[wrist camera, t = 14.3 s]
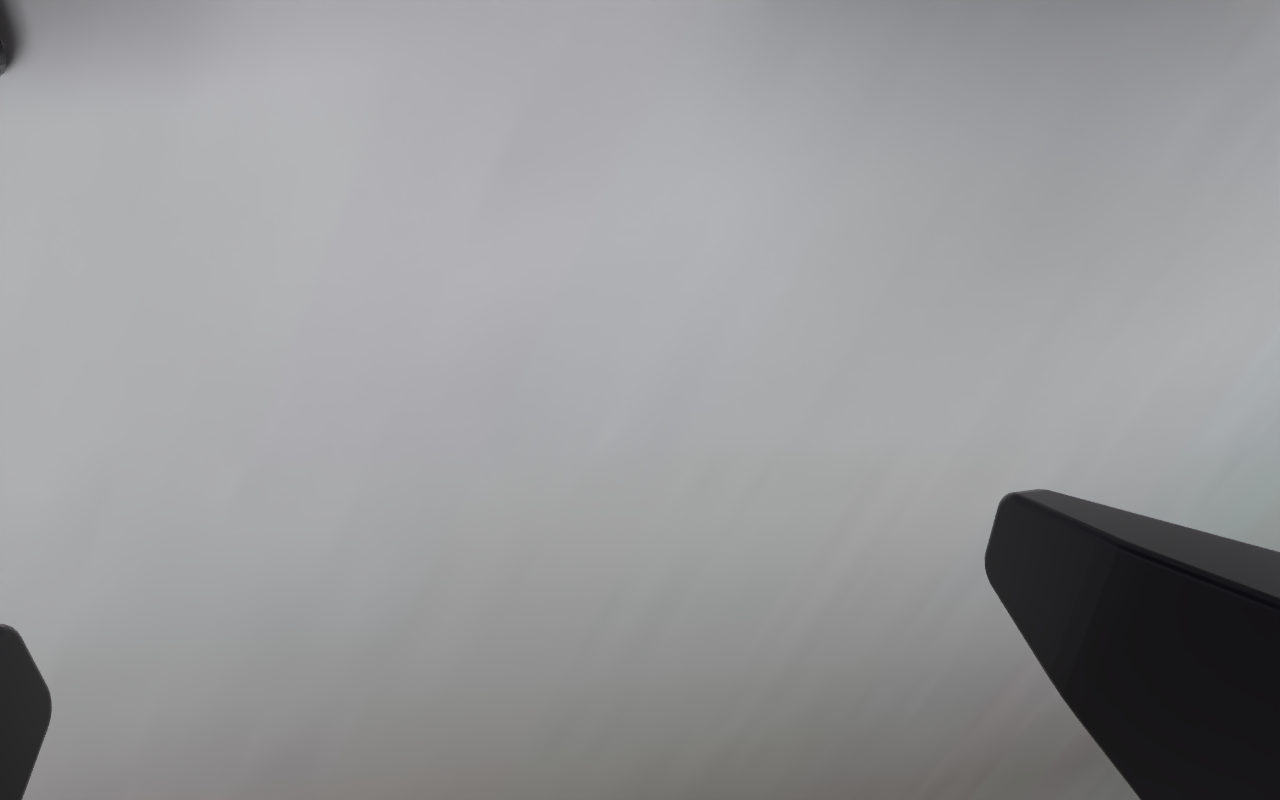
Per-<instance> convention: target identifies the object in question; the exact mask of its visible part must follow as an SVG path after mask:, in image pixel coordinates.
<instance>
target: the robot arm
mask: <svg viewBox="0 0 1280 800" xmlns="http://www.w3.org/2000/svg"><path fill="white" fill-rule="evenodd" d="M6 64H7V63H6V57H5V52H4V49H3V46H2V43H1V41H0V76H1V75H2V74H3V73H4V70H5V67H6ZM985 569H986V574H987V577H988V579H989V582H990V584H991V586H992V587H993V589H994V591H995V592H996V594H997V595H998V597H999V599H1000V600H1001V602H1002V603H1003V605H1004V607H1005V608H1006V610H1007V611H1008V613H1009V615H1010V616H1011V618H1012V619H1013V621H1014V623H1015V624H1016V626H1017V627H1018V629H1019V631H1020V632H1021V634H1022V635H1023V637H1024V639H1025V640H1026V642H1027V643H1028V645H1029V647H1030V648H1031V650H1032V651H1033V653H1034V655H1035V656H1036V658H1037V659H1038V661H1039V663H1040V664H1041V666H1042V667H1043V669H1044V671H1045V672H1046V674H1047V675H1048V677H1049V678H1050V680H1051V681H1052V683H1053V684H1054V686H1055V688H1056V689H1057V691H1058V692H1059V694H1060V695H1061V697H1062V698H1063V699H1064V701H1065V702H1066V703H1067V705H1068V706H1069V708H1070V709H1071V710H1072V712H1073V713H1074V714H1075V716H1076V717H1077V718H1078V720H1079V721H1080V722H1081V724H1082V725H1083V726H1084V727H1085V729H1086V730H1087V731H1088V733H1089V734H1090V735H1091V736H1092V738H1093V739H1094V740H1095V742H1096V743H1097V744H1098V745H1099V747H1100V748H1101V749H1102V751H1103V752H1104V753H1105V754H1106V756H1107V757H1108V758H1109V760H1110V761H1111V762H1112V764H1113V765H1114V766H1115V767H1116V769H1117V770H1118V771H1119V773H1120V774H1121V775H1122V776H1123V778H1124V779H1125V780H1126V782H1127V783H1128V784H1129V785H1130V787H1131V788H1132V789H1133V791H1134V792H1135V793H1136V794H1137V796H1138V797H1139V798H1140V800H1280V552H1277V551H1274V550H1270V549H1266V548H1262V547H1259V546H1255V545H1251V544H1247V543H1244V542H1240V541H1236V540H1233V539H1229V538H1225V537H1221V536H1218V535H1214V534H1210V533H1206V532H1203V531H1199V530H1195V529H1192V528H1188V527H1184V526H1180V525H1177V524H1173V523H1169V522H1165V521H1162V520H1158V519H1154V518H1150V517H1147V516H1143V515H1139V514H1136V513H1132V512H1128V511H1124V510H1121V509H1117V508H1113V507H1109V506H1106V505H1102V504H1098V503H1095V502H1091V501H1087V500H1083V499H1080V498H1076V497H1072V496H1068V495H1065V494H1061V493H1057V492H1054V491H1050V490H1043V489H1036V490H1028V491H1020V492H1012V493H1009V494H1007V495H1006V496H1004V497H1003V498H1002V500H1001V501H1000V503H999V505H998V509H997V512H996V516H995V520H994V523H993V527H992V531H991V534H990V538H989V542H988V545H987V549H986V553H985ZM51 711H52V707H51V696H50V692H49V689H48V687H47V685H46V683H45V681H44V679H43V677H42V675H41V673H40V671H39V670H38V668H37V666H36V664H35V662H34V660H33V658H32V656H31V654H30V653H29V651H28V649H27V647H26V645H25V643H24V641H23V639H22V637H21V636H20V634H19V633H18V631H16V630H15V629H14V628H13V627H11V626H8V625H5V624H0V800H22V798H23V795H24V793H25V790H26V787H27V784H28V782H29V779H30V776H31V773H32V771H33V768H34V765H35V762H36V760H37V757H38V754H39V751H40V748H41V746H42V743H43V740H44V737H45V735H46V732H47V729H48V726H49V722H50V718H51Z"/></svg>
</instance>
